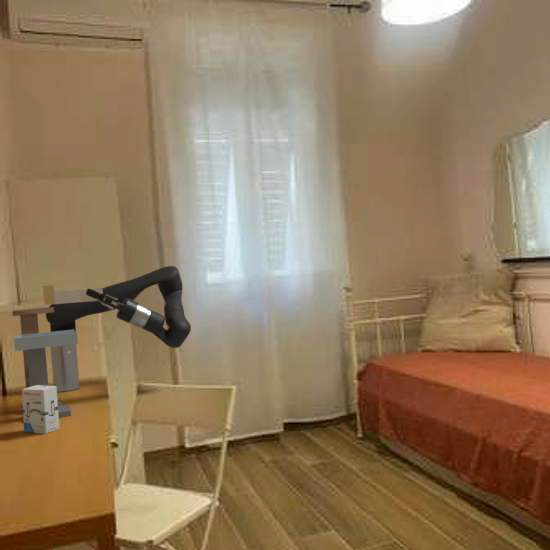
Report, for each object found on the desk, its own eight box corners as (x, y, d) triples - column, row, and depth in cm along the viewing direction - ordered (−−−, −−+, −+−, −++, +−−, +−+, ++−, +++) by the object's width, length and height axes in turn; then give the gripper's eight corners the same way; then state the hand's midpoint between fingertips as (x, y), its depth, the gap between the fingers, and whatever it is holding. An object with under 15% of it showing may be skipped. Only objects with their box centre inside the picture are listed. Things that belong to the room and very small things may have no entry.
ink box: (23, 432, 158) (19, 388, 158) (38, 427, 162) (35, 385, 162) (45, 434, 154) (42, 389, 154) (60, 429, 158) (57, 385, 158)
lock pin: (44, 304, 191) (43, 286, 191) (101, 300, 198) (100, 282, 198) (44, 304, 186) (43, 285, 186) (103, 300, 193) (102, 282, 193)
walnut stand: (21, 409, 191) (13, 310, 191) (61, 403, 195) (53, 307, 195) (20, 414, 182) (12, 311, 183) (62, 408, 187) (53, 307, 187)
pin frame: (22, 415, 181) (16, 335, 182) (80, 406, 188) (74, 329, 188) (21, 424, 168) (14, 338, 168) (83, 414, 174) (76, 332, 174)
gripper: (132, 324, 192) (82, 301, 187) (125, 322, 205) (79, 301, 200) (142, 303, 194) (93, 280, 188) (135, 302, 207) (89, 281, 201)
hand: (86, 291), depth 194 cm, fingers closed on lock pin, 4 cm apart
